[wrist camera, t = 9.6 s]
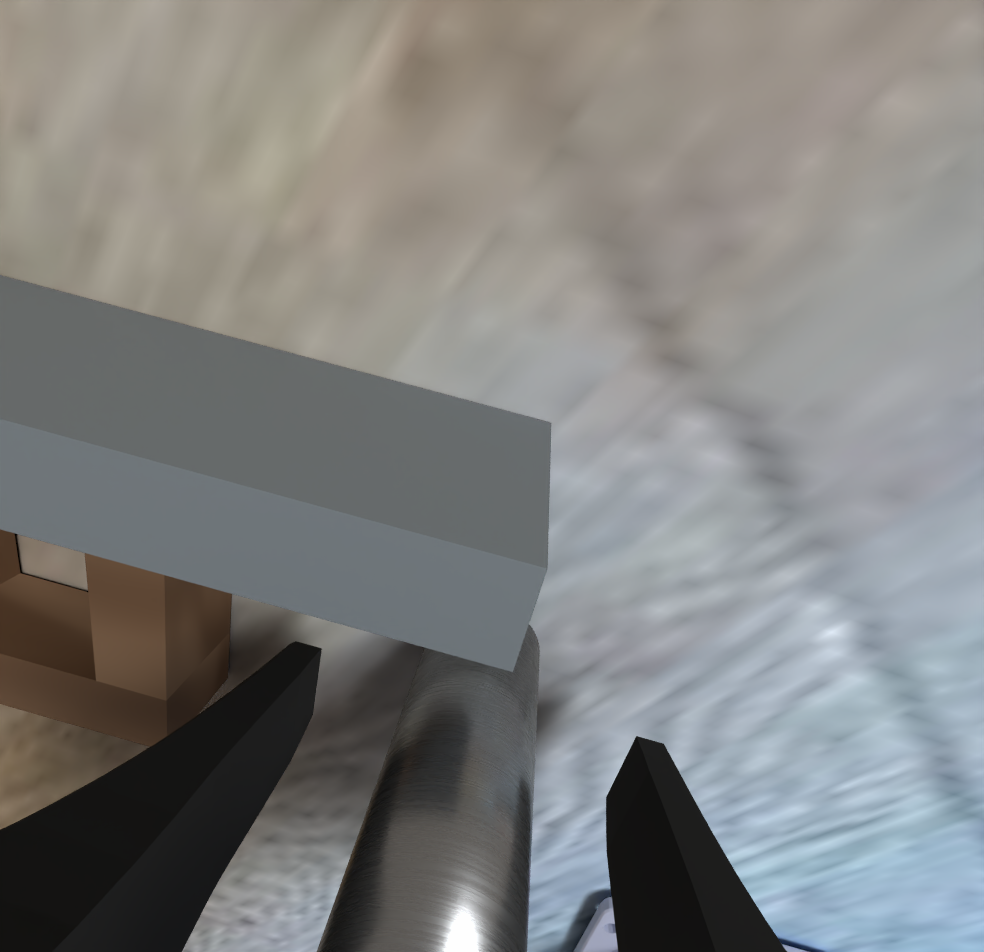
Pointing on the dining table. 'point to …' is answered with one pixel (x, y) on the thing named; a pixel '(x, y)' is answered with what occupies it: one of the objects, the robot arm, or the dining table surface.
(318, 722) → the dining table surface
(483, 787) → the dowel
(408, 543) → the slate wall
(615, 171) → the dining table surface
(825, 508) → the dining table surface
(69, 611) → the socket block
